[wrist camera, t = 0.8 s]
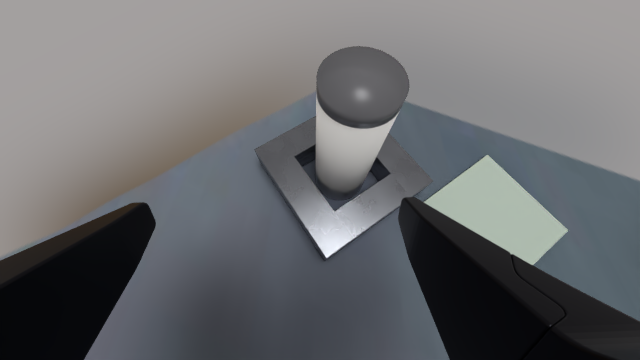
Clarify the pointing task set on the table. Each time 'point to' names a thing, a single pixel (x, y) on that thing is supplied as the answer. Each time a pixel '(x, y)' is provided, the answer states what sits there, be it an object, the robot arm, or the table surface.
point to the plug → (354, 115)
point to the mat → (499, 211)
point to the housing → (311, 207)
